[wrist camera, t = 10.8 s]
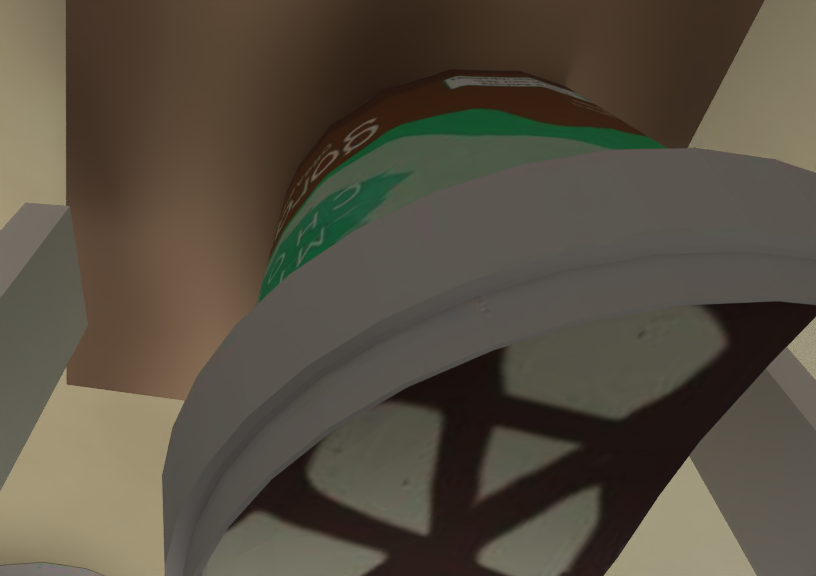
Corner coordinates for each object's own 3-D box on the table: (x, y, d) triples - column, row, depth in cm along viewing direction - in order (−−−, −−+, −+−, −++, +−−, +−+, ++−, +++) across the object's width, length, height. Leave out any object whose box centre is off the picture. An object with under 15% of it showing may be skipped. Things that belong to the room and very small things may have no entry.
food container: (330, -113, 12) (343, -9, 4) (602, 21, 14) (982, 276, 6) (174, 366, 18) (52, 802, 10) (380, 416, 20) (420, 817, 12)
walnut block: (656, -44, 19) (766, -4, 14) (495, 334, 26) (530, 447, 21) (150, -206, 16) (65, -227, 11) (125, 269, 23) (66, 384, 19)
